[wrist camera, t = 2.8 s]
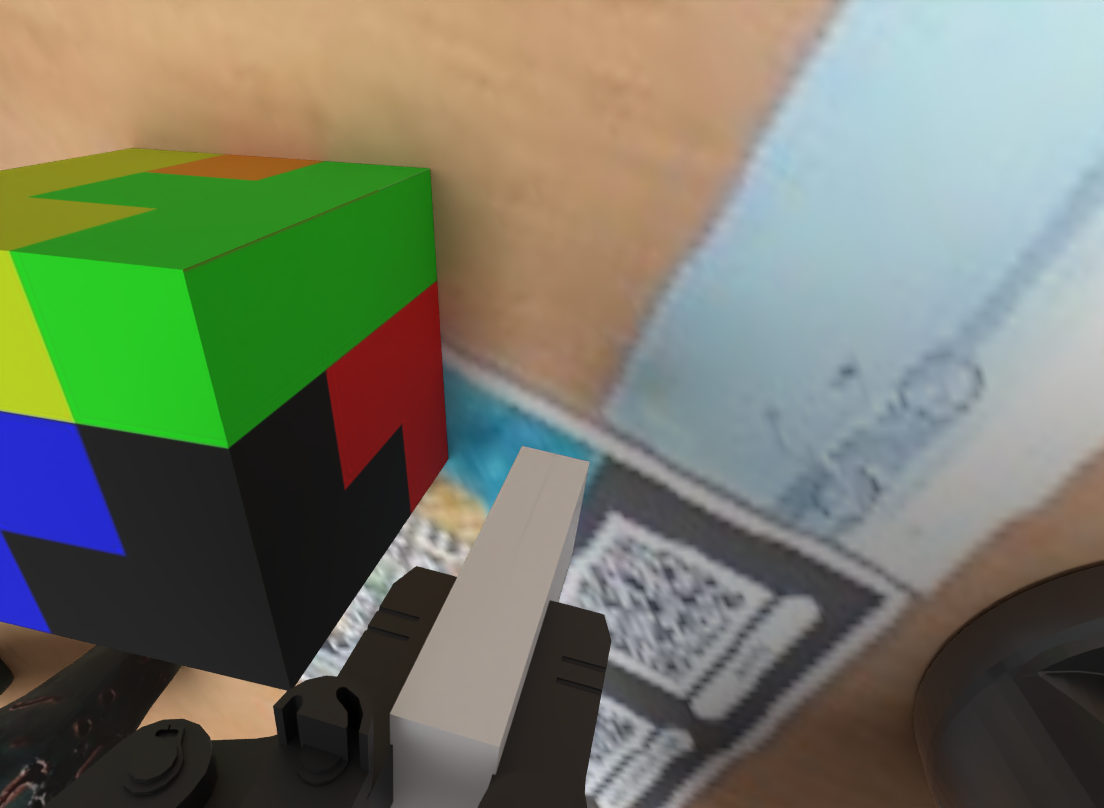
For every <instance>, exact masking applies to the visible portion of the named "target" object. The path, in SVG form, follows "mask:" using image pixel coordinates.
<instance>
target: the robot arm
mask: <svg viewBox="0 0 1104 808" xmlns="http://www.w3.org/2000/svg"><path fill="white" fill-rule="evenodd" d="M589 463H590V462H588V461H584V460H579V459H575V458H571V457H567V456H562V455H558V454H554V453H550V452H546V451H541V450H537V449H533V448H529V447H524V446H522V447H521V449H520V451H519V453H518V456H517V458H516V460H515V462H514V464H513V466H512V468H511V470H510V472H509V474H508V476H507V478H506V480H505V482H504V484H503V486H502V488H501V490H500V492H499V494H498V496H497V498H496V500H495V502H494V504H493V506H492V508H491V510H490V512H489V514H488V516H487V518H486V520H485V522H484V524H483V526H482V528H481V530H480V532H479V534H478V536H477V538H476V540H475V543H474V545H473V547H472V549H471V551H470V553H469V555H468V557H467V559H466V561H465V563H464V565H463V567H462V569H461V571H460V573H459V575H458V577H455V576H452V575H448V574H444V573H440V572H437V571H433V570H429V569H425V568H422V567H418V566H416V567H415V568H413V569H412V570H411V571H409V572H408V573H407V574H405V575H404V576H403V577H401V578H400V579H399V580H397V581H396V582H395V583H394V584H393V585H392V587H391V589H390V590H389V592H388V594H387V595H386V597H385V599H384V600H383V602H382V604H381V605H380V608H379V611H377V612H376V613H375V615H374V617H373V618H372V620H371V622H370V623H369V625H368V629H367V630H365V632H364V633H363V635H362V637H361V638H360V640H359V642H358V643H357V645H356V647H355V648H354V650H353V652H352V653H351V655H350V656H349V658H348V660H347V661H346V663H345V665H344V666H343V668H342V670H341V671H340V673H339V675H338V676H337V677H335V676H322V677H318V678H314V679H309V680H306V681H304V682H302V683H300V684H299V685H297V686H295V687H293V688H292V689H290V690H288V691H287V692H286V693H285V694H284V695H283V696H282V697H281V698H280V699H279V701H278V702H277V703H276V704H275V705H274V706H273V708H274V715H275V721H276V727H277V735H275V736H271V737H264V738H257V739H235V740H210V737H209V735H208V734H207V733H206V732H205V731H204V729H203V728H202V727H201V726H200V725H199V724H196V723H193V722H191V721H188V720H185V719H169V720H161V721H158V722H155V723H153V724H150V725H147V726H144V727H141V728H140V729H138V730H137V731H135V732H134V733H132V734H131V735H129V736H128V737H126V738H125V739H123V740H122V741H120V742H119V743H118V744H117V745H116V746H114V747H113V748H112V749H111V750H110V751H109V752H107V753H106V754H105V755H104V756H103V757H101V758H100V759H99V760H98V761H97V762H96V763H94V764H93V765H92V766H91V767H90V768H89V769H87V770H86V771H85V772H84V773H83V774H81V775H80V776H79V777H78V778H77V779H76V780H74V781H73V782H72V783H71V784H70V785H69V786H67V787H66V788H65V789H64V790H63V791H61V792H60V793H59V794H58V795H57V796H56V797H54V798H53V799H52V800H51V801H50V802H48V803H47V804H46V805H45V806H44V807H43V808H587V803H586V798H585V781H586V774H587V768H588V763H589V758H590V752H591V747H592V742H593V736H594V731H595V726H596V720H597V715H598V710H599V704H600V699H601V693H602V688H603V683H604V677H605V671H606V667H607V661H608V656H609V651H610V645H611V638H610V634H609V631H608V627H607V623H606V620H605V616H604V614H600V613H596V612H592V611H589V610H585V609H581V608H578V607H574V606H570V605H566V604H563V603H559V599H560V595H561V592H562V588H563V585H564V581H565V578H566V575H567V571H568V568H569V564H570V561H571V558H572V553H573V548H574V543H575V538H576V532H577V527H578V522H579V516H580V511H581V506H582V500H583V495H584V490H585V484H586V479H587V474H588V468H589ZM913 721H914V732H915V737H916V742H917V745H918V749H919V752H920V756H921V760H922V763H923V767H924V771H925V774H926V778H927V781H928V785H929V788H930V792H931V795H932V797H933V800H934V802H935V804H936V807H937V808H1104V565H1102V566H1098V567H1094V568H1090V569H1087V570H1083V571H1080V572H1076V573H1073V574H1070V575H1067V576H1064V577H1061V578H1058V579H1055V580H1052V581H1049V582H1047V583H1044V584H1042V585H1040V586H1037V587H1035V588H1032V589H1030V590H1028V591H1026V592H1023V593H1021V594H1019V595H1017V596H1015V597H1013V598H1011V599H1009V600H1007V601H1006V602H1004V603H1002V604H1000V605H998V606H996V607H995V608H993V609H992V610H990V611H988V612H987V613H985V614H984V615H982V616H981V617H979V618H978V619H977V620H975V621H974V622H972V623H971V624H970V625H968V626H967V627H966V628H965V629H964V630H962V631H961V632H960V633H959V634H958V635H957V636H955V637H954V638H953V639H952V640H951V641H950V642H949V643H948V644H947V645H946V646H945V648H944V649H943V650H942V651H941V652H940V653H939V655H938V656H937V657H936V659H935V660H934V661H933V663H932V664H931V666H930V667H929V669H928V671H927V672H926V674H925V676H924V678H923V680H922V682H921V685H920V687H919V690H918V693H917V697H916V701H915V706H914V718H913Z"/></svg>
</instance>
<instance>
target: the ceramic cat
mask: <svg viewBox="0 0 1104 808" xmlns="http://www.w3.org/2000/svg"><path fill="white" fill-rule="evenodd" d="M181 666H182V665H179V664H175V663H171V662H166V661H162V660H158V659H154V658H150V657H146V656H142V655H137V654H133V653H129V652H125V651H121V650H117V649H113V648H108V647H104V646H100V645H96V646H95V647H94V648H92V649H91V650H90V651H88V652H87V653H86V654H85V655H83V656H82V657H81V658H79V659H78V660H77V661H75V662H74V663H73V664H71V665H70V666H68V667H66V668H65V669H63V670H61V671H60V672H59V673H57V674H56V675H55V676H53V677H52V678H50V679H49V680H47V681H46V682H44V683H43V684H42V685H40V686H39V687H37V688H35V689H34V690H32V691H31V692H29V693H28V694H26V695H25V696H23V697H21V698H19V699H17V700H15V701H14V702H12V703H10V704H8V705H6V706H4V707H2V708H1V709H0V808H43V807H44V806H45V805H46V804H47V803H48V802H50V801H51V800H52V799H53V798H54V797H56V796H57V795H58V794H59V793H60V792H61V791H63V790H64V789H65V788H66V787H67V786H69V785H70V784H71V783H72V782H73V781H74V780H76V779H77V778H78V777H79V776H80V775H81V774H83V773H84V772H85V771H86V770H87V769H89V768H90V767H91V766H92V765H93V764H94V763H96V762H97V761H98V760H99V759H100V758H101V757H103V756H104V755H105V754H106V753H107V752H109V751H110V750H111V749H112V748H113V747H114V746H116V745H117V744H118V743H119V742H120V741H122V740H123V739H125V738H126V737H128V736H129V735H131V734H132V733H134V732H135V731H136V730H137V728H138V727H139V725H140V724H141V722H142V720H143V719H144V717H145V716H146V714H147V713H148V711H149V709H150V708H151V707H152V705H153V704H154V703H155V701H156V700H157V699H158V697H159V696H160V694H161V693H162V692H163V691H164V689H165V688H166V687H167V685H168V684H169V683H170V681H171V680H172V679H173V677H174V676H175V675H176V673H177V672H178V670H179V669H180V667H181ZM11 683H12V674H11V672H10V670H9V669H8V668H7V666H6V665H5V664H4V662H3V661H2V660H1V659H0V695H1V694H2V693H3V692H4V691H5V690H6V689H7V688H8V687H9V685H10V684H11Z"/></svg>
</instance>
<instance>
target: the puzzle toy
mask: <svg viewBox="0 0 1104 808" xmlns="http://www.w3.org/2000/svg"><path fill="white" fill-rule="evenodd" d="M447 460H448V446H447V430H446V414H445V398H444V382H443V367H442V351H441V335H440V319H439V303H438V287H437V271H436V255H435V239H434V223H433V207H432V191H431V176H430V168H415V167H401V166H386V165H371V164H357V163H342V162H328V161H313V160H299V159H284V158H270V157H255V156H241V155H226V154H211V153H197V152H182V151H168V150H153V149H139V148H130V149H125V150H119V151H113V152H107V153H101V154H95V155H89V156H84V157H78V158H72V159H66V160H60V161H54V162H48V163H43V164H37V165H31V166H25V167H19V168H13V169H7V170H2V171H0V622H5V623H9V624H13V625H17V626H21V627H25V628H30V629H34V630H38V631H42V632H46V633H50V634H54V635H59V636H63V637H67V638H71V639H75V640H79V641H83V642H88V643H92V644H96V645H100V646H104V647H108V648H113V649H117V650H121V651H125V652H129V653H133V654H137V655H142V656H146V657H150V658H154V659H158V660H162V661H166V662H171V663H175V664H179V665H183V666H187V667H191V668H196V669H200V670H204V671H208V672H212V673H216V674H220V675H225V676H229V677H233V678H237V679H241V680H245V681H249V682H254V683H258V684H262V685H266V686H270V687H274V688H279V689H283V690H287V691H288V690H290V689H292V688H293V687H295V685H296V684H297V682H298V681H299V679H300V678H301V676H302V675H303V673H304V672H305V670H306V669H307V667H308V666H309V664H310V663H311V662H312V660H313V659H314V657H315V656H316V654H317V653H318V651H319V650H320V648H321V647H322V645H323V644H324V642H325V641H326V639H327V638H328V636H329V635H330V633H331V632H332V630H333V629H334V628H335V626H336V625H337V623H338V622H339V620H340V619H341V617H342V616H343V614H344V613H345V611H346V610H347V608H348V607H349V605H350V604H351V602H352V601H353V599H354V598H355V596H356V595H357V593H358V592H359V591H360V589H361V588H362V586H363V585H364V583H365V582H366V580H367V579H368V577H369V576H370V574H371V573H372V571H373V570H374V568H375V567H376V565H377V564H378V562H379V561H380V559H381V558H382V557H383V555H384V554H385V552H386V551H387V549H388V548H389V546H390V545H391V543H392V542H393V540H394V539H395V537H396V536H397V534H398V533H399V531H400V530H401V528H402V527H403V525H404V524H405V523H406V521H407V520H408V518H409V517H410V515H411V514H412V512H413V511H414V509H415V508H416V506H417V505H418V503H419V502H420V500H421V499H422V497H423V496H424V494H425V493H426V491H427V490H428V489H429V487H430V486H431V484H432V483H433V481H434V480H435V478H436V477H437V475H438V474H439V472H440V471H441V469H442V468H443V466H444V465H445V463H446V462H447Z"/></svg>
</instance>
